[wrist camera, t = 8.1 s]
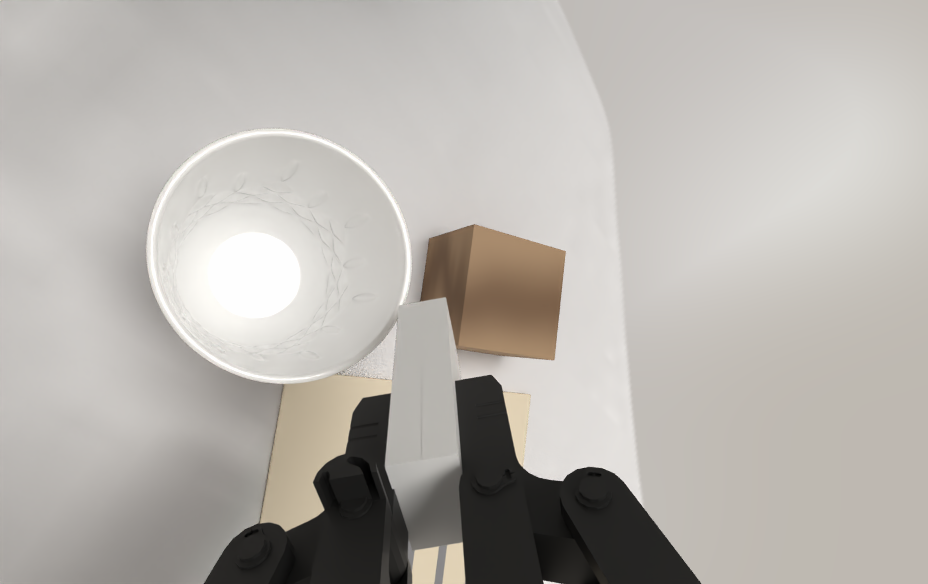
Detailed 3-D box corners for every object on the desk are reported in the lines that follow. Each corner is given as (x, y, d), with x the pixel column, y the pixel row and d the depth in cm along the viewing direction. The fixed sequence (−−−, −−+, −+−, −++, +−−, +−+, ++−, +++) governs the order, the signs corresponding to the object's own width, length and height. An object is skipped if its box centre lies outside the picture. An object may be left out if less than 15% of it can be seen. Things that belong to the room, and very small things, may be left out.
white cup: (107, 304, 22) (75, 291, 13) (220, 162, 24) (255, 73, 16) (273, 392, 25) (334, 428, 16) (357, 259, 27) (449, 229, 19)
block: (428, 238, 30) (474, 224, 25) (511, 260, 33) (565, 251, 28) (413, 342, 29) (458, 345, 25) (500, 355, 32) (554, 360, 28)
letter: (286, 369, 25) (287, 369, 25) (528, 394, 33) (530, 394, 32) (205, 831, 22) (206, 835, 22) (490, 743, 30) (492, 746, 30)
